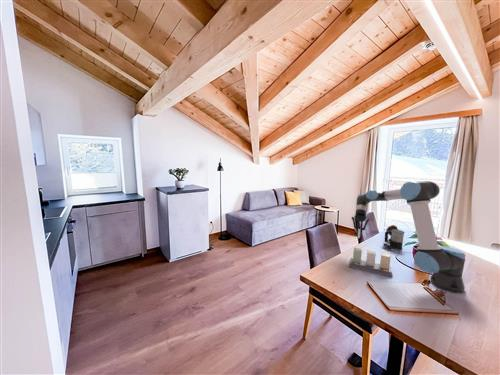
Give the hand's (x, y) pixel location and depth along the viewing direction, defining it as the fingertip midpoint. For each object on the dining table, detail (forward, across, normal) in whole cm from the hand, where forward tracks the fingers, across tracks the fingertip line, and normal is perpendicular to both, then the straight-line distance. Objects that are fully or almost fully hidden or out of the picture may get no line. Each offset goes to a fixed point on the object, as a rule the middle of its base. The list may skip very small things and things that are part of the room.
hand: (358, 237), depth 160 cm
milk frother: (-13, -27, -36) cm, 47 cm away
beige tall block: (+19, -17, -2) cm, 25 cm away
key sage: (+19, 0, -2) cm, 19 cm away
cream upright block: (+19, -8, -2) cm, 21 cm away
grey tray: (+21, -9, -2) cm, 23 cm away
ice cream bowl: (-28, -28, -51) cm, 65 cm away
